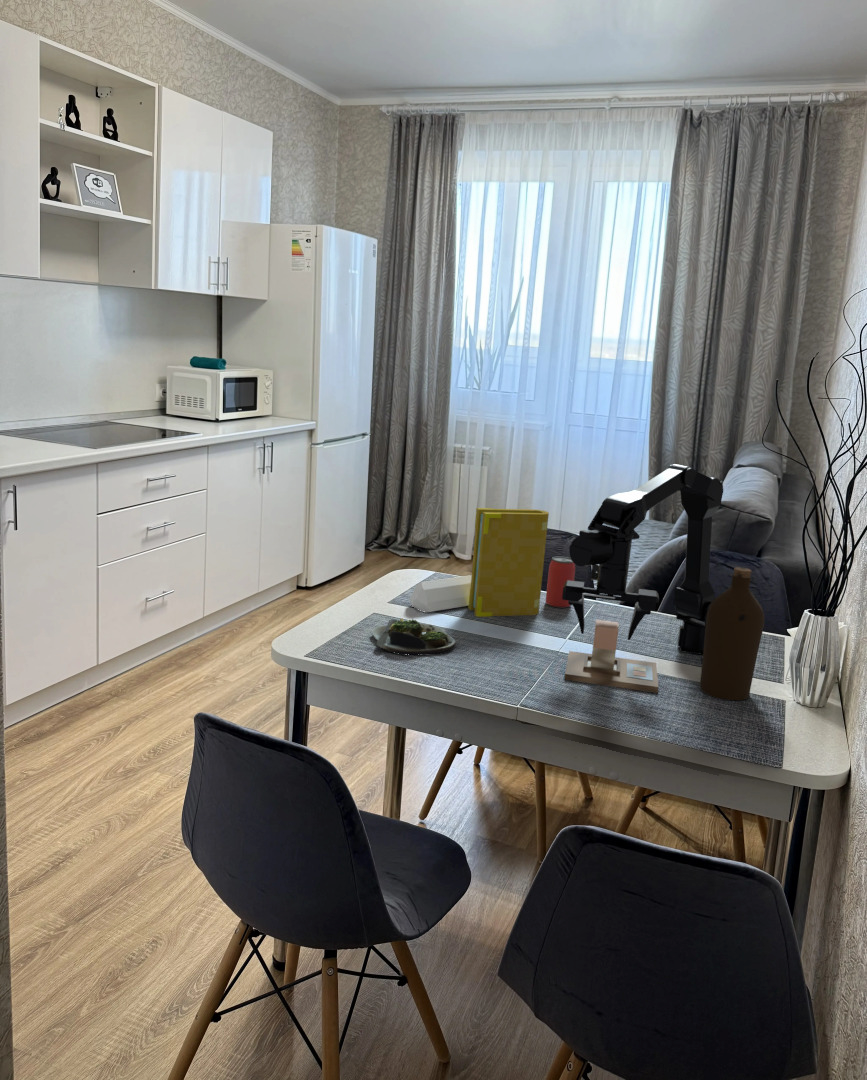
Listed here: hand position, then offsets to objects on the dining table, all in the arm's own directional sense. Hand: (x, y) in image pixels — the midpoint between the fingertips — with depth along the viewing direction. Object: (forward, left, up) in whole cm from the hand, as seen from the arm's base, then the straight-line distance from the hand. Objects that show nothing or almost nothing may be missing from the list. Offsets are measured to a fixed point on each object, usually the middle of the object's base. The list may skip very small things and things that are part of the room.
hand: (605, 636), depth 179 cm
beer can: (+12, -45, -8) cm, 47 cm away
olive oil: (-24, +1, -8) cm, 25 cm away
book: (+24, -33, -8) cm, 42 cm away
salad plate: (+40, -2, -8) cm, 41 cm away
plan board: (-2, 0, -8) cm, 8 cm away
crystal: (+38, -33, -8) cm, 51 cm away
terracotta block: (0, 0, -2) cm, 2 cm away
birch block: (0, 0, -6) cm, 6 cm away
